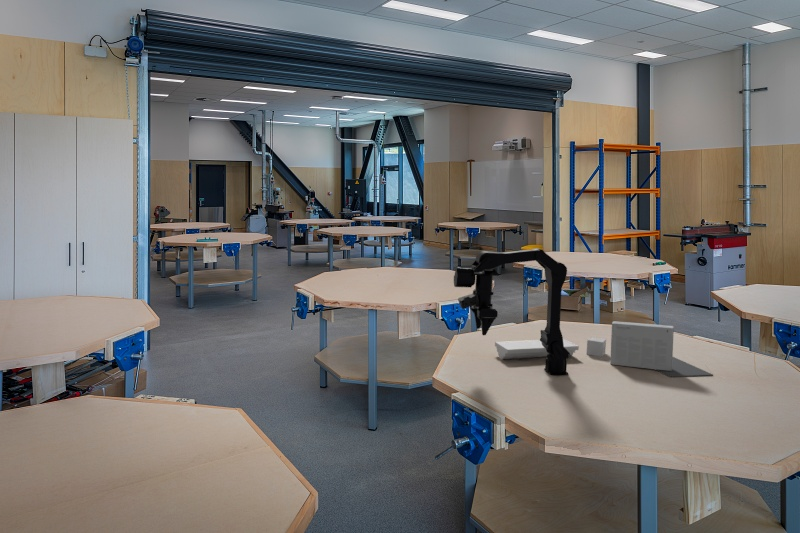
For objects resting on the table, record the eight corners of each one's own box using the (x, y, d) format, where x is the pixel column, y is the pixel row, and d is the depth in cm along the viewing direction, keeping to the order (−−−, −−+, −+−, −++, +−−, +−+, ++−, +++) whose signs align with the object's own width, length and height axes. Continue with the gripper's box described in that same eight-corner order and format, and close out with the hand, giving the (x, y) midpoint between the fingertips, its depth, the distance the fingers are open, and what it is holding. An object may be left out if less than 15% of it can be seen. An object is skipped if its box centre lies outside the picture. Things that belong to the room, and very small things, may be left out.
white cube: (586, 354, 226) (587, 339, 226) (589, 351, 231) (590, 336, 231) (602, 357, 223) (602, 342, 222) (605, 353, 228) (606, 339, 228)
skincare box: (671, 367, 209) (674, 325, 207) (671, 371, 204) (674, 328, 202) (611, 360, 218) (612, 320, 216) (609, 364, 213) (611, 323, 211)
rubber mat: (668, 355, 227) (668, 354, 227) (713, 375, 203) (713, 374, 202) (629, 356, 224) (629, 355, 224) (670, 377, 200) (670, 376, 199)
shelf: (494, 354, 224) (494, 341, 223) (562, 351, 231) (563, 338, 230) (506, 363, 213) (507, 349, 212) (577, 359, 220) (578, 346, 219)
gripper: (455, 282, 204) (453, 324, 206) (466, 292, 186) (463, 338, 188) (486, 283, 205) (483, 325, 207) (499, 293, 187) (496, 339, 189)
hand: (480, 331), depth 198 cm, fingers open, 9 cm apart
